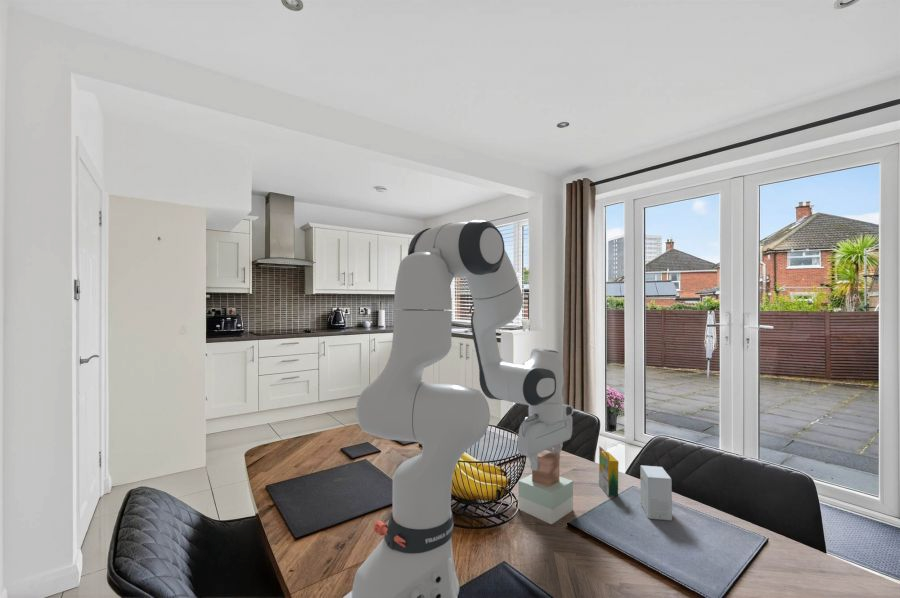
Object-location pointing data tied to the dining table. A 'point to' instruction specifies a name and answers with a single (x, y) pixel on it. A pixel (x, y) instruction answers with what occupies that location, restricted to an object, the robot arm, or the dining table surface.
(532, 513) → the tower base block
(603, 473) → the crayon box
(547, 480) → the terracotta block
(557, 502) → the tower top block
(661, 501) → the small box
